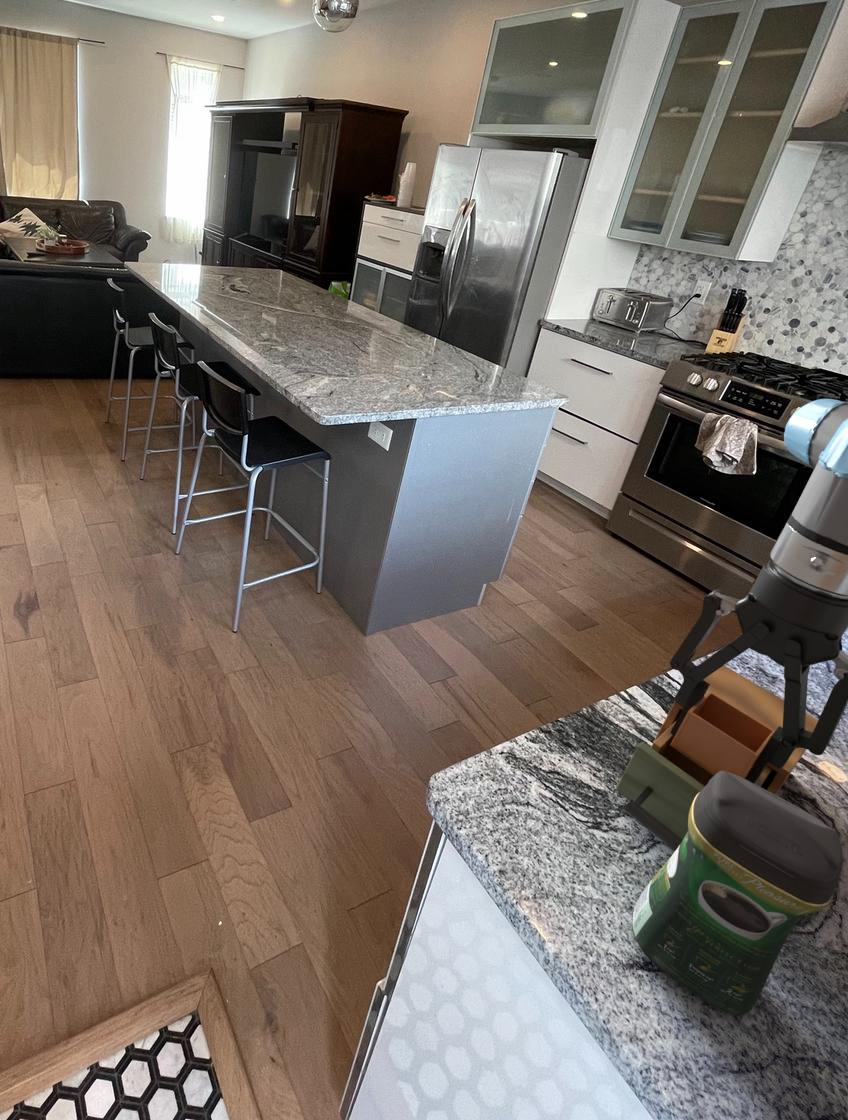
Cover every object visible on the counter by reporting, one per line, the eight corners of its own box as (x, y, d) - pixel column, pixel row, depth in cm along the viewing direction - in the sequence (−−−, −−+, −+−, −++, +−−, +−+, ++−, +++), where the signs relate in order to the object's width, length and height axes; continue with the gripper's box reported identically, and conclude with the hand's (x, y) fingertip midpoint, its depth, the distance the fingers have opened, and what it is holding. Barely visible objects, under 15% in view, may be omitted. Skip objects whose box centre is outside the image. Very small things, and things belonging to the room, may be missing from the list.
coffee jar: (752, 959, 57) (856, 819, 50) (747, 1040, 51) (863, 894, 44) (637, 882, 62) (715, 745, 55) (620, 947, 56) (705, 803, 49)
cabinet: (754, 827, 70) (789, 772, 67) (648, 751, 78) (675, 699, 75) (790, 773, 78) (823, 722, 75) (691, 710, 86) (717, 661, 83)
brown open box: (736, 791, 64) (757, 756, 62) (670, 745, 69) (688, 711, 67) (755, 766, 68) (776, 731, 66) (691, 723, 72) (709, 690, 70)
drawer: (697, 896, 61) (727, 849, 58) (594, 810, 68) (616, 765, 65) (756, 810, 71) (784, 767, 68) (661, 744, 78) (683, 703, 76)
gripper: (688, 535, 64) (609, 706, 73) (948, 655, 50) (811, 847, 59) (716, 520, 68) (638, 683, 77) (961, 626, 54) (832, 809, 63)
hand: (713, 753), depth 68 cm, fingers closed on brown open box, 6 cm apart
